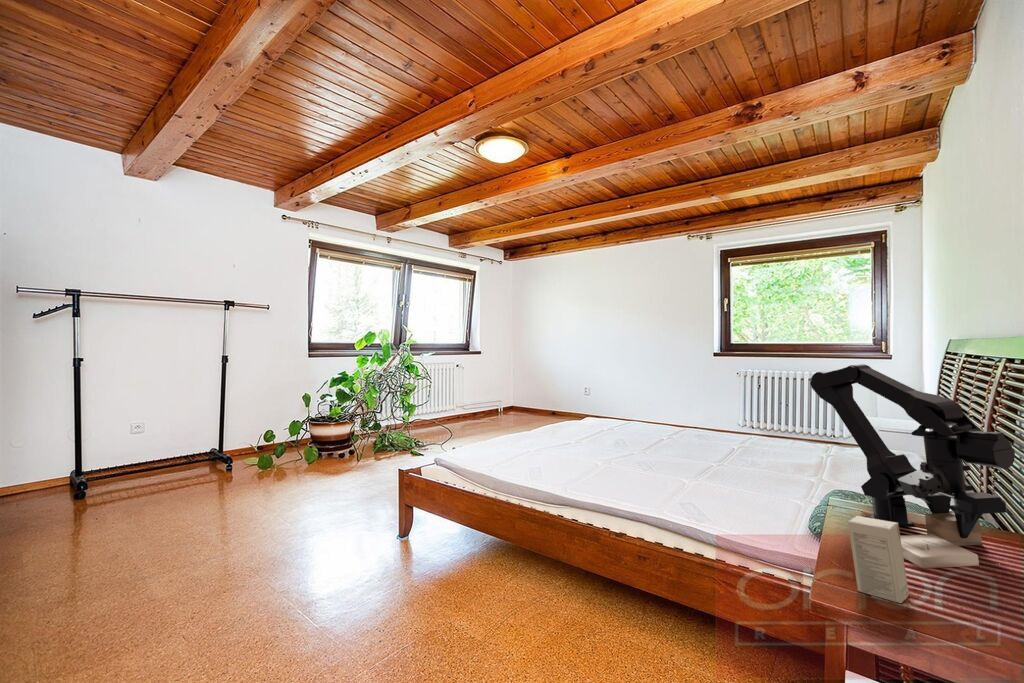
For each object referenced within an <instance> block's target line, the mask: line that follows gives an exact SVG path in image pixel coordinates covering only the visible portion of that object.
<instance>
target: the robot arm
mask: <svg viewBox="0 0 1024 683" xmlns="http://www.w3.org/2000/svg"><path fill="white" fill-rule="evenodd" d="M809 384H810V386H811V389H812V390H813V391H814V392H815V394H816V395H817V396H818V397H819V398H820V399H822V400H823V401H824V402H826V403H827V404H830V405H831V407H833V408H834V411H835V412H836V413H837V415H838V416H839V418H840V420H841V421H842V422H843V424H844V425H845V427H846V428H847V431H848V432H849V433H850V435H851V436H852V437H853V439H854V441H855V443H856V444H857V445H858V447H859V449H860V450H861V452H862V453H863V454H864V456H865V458H866V471H867V473H868V475H869V477H870V478H869V479H868V480H867V481H865V482H864V483H863V484H861V486H860V488H861V490H862V492H863V494H864V496H866V497H871V500H872V501H871V502H872V509H873V514H867V516H866V517H868V518H874V519H879V520H885V521H891V522H896V523H898V526H899V527H900V526H902V527H903V526H915V525H916V523H915V522H914V521H912V520H910V519H909V517H908V509H907V506H906V498H905V496H913V497H914V498H916V499H920V500H922V501H923V502H924V503H925V504H926V505H927V507H928V509H929V511H930V514H938V513H950V510H951V511H952V513H955V517H956V522H957V527H958V531H959V535H960V537H961V538H968V536H969V534H970V533H971V531H972V529H973V528H974V526H975V524H976V523H977V521H978V520H979V521H980V518H981V517H982V515H984V514H985V515H986V514H1004V513H1007V512H1008V510H1007V502H1006V501H1005V500H1004V499H1003V498H1001V497H1000V496H998V495H994V494H990V493H987V492H984V491H983V492H982V491H979V492H970V491H973V485H971V484H968V483H966V475H965V471H966V472H967V471H971V467H970V465H969V464H971V465H972V464H973V465H978V466H983V467H984V466H985V467H991V468H997V469H1003V470H1006V469H1007V470H1008V469H1010V468H1011V467H1012V465H1013V464H1014V461H1015V459H1016V458H1015V457H1016V454H1015V453H1016V451H1015V449H1014V447H1013V445H1012V444H1011V443H1010V441H1009V440H1007V439H1006V438H1005V433H1004V432H1001V431H1000V432H999V431H982V430H981V428H979V427H978V426H977V425H976V424H975V422H974V421H972V420H971V418H970V417H969V416H967V414H966V413H965V412H963V408H962V406H961V404H959V403H958V402H957V401H956V400H954V399H951V398H947V397H944V396H941V395H937V394H934V393H933V394H932V393H928V392H923V391H919V390H916V389H915V388H912V387H910V386H909V385H906V384H904V383H903V382H900V381H898V380H896V379H894V378H892V377H890V376H887V375H886V374H884V373H882V372H880V371H878V370H875V369H873V368H872V367H871V366H870V365H867V364H863V363H862V364H861V363H860V364H859V363H858V364H852V365H851V364H850V365H848V366H846V367H843V368H839V369H836V370H827V371H818V372H815V373H813V374H812V376H811V378H810V382H809ZM854 384H858V385H859V386H862V387H864V388H866V389H868V390H869V391H871V392H873V393H876V394H877V395H879V396H881V397H883V398H885V399H886V400H888V401H890V402H892V403H894V404H896V405H898V406H899V407H900V408H902V409H903V410H904V411H905V414H907V416H908V417H910V418H911V419H912V420H913V421H915V422H917V423H918V424H919V426H918V427H917V428H916V429H915V430H913V431H911V433H910V434H911V436H917V437H922V438H923V444H924V453H925V454H924V455H925V460H926V461H921V462H920V463H919V464H920V465H919V470H918V469H916V468H915V467H914V466H913V465H912V464H911V462H910V460H909V459H908V457H907V455H905V454H904V453H903V454H895V453H894V452H892V451H891V450H890V449H889V447H888V446H887V445H886V443H885V442H884V441H883V439H882V437H881V436H880V435H879V434H878V432H877V430H876V429H875V428H874V426H873V425H872V423H871V422H870V421H869V419H868V418H867V416H866V415H865V414H864V412H863V410H862V409H861V407H860V406H859V405H858V403H857V401H856V400H855V399H854V387H853V385H854ZM964 462H965V463H967V464H965V463H964ZM968 491H969V492H968ZM952 499H953V500H955V502H956V504H953V505H951V502H952Z"/></svg>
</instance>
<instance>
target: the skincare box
mask: <svg viewBox="0 0 1024 683" xmlns="http://www.w3.org/2000/svg"><path fill="white" fill-rule="evenodd" d="M847 525H848V532H849V537H850V538H849V540H850V546H851V552H852V559H853V566H854V573H855V581H856V586H857V591H858V592H860V593H864V594H867V595H871V596H874V597H877V598H881V599H884V600H887V601H892V602H895V603H899V604H902V603H903V602H904V601H905V600H906V599H907V598H908V597H909V595H910V591H909V587H908V580H907V579H908V578H907V573H906V566H905V560H904V559H905V558H903V551H902V545H901V538H900V536H901V533H900V526H898V523H896V522H891V521H885V520H879V519H874V518H868V516H862V515H861V516H860V515H856V516H854V517H852V518H850V519H849V520H847Z"/></svg>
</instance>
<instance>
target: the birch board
mask: <svg viewBox="0 0 1024 683" xmlns="http://www.w3.org/2000/svg"><path fill="white" fill-rule="evenodd" d="M900 538H901V545H902V551H903V558H904V559H905V560H907V561H909V562H911V563H913V564H914V565H915V566H918V567H920V568H921V569H932V568H933V569H935V568H956V567H957V568H958V567H977V566H980V562H979V555H978V554H976V553H974V552H972V551H970V550H969V549H965V548H964V547H962V546H957V545H955V544H953V543H950V542H948V541H946V540H944V539H942V538H939V537H937V536H935V535H933V534H927V533H926V534H910V535H906V534H905V535H900Z"/></svg>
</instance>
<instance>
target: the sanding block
mask: <svg viewBox="0 0 1024 683" xmlns="http://www.w3.org/2000/svg"><path fill="white" fill-rule="evenodd" d="M924 517H925V528H926V534H933V535H935V536H937V537H939V538H942V539H944V540H946V541H948V542H950V543H953V544H955V545H957V546H959V547H961V546H974V545H975V546H977V545H983V541H982V540H983V539H982V534H981V533H982V532H981V525H980V519H979V520H978V521H977V523H976V524H975V526H974V528H973V529H972V531H971V533H970V534H969V536H968V538H961V537H960V535H959V531H958V527H957V522H956V517H955V513H954V512H949V513H938V514H932V513H925V514H924Z"/></svg>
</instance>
